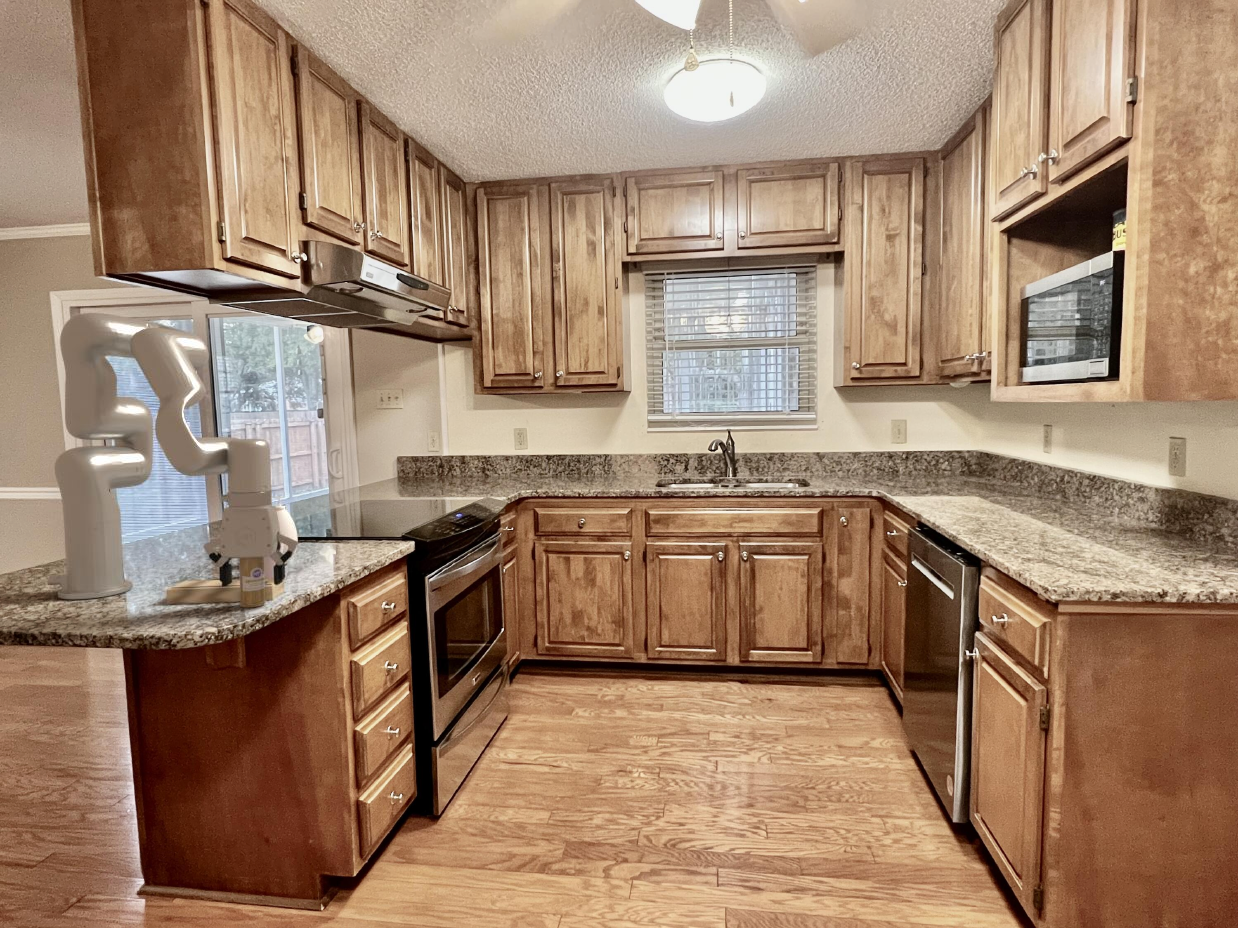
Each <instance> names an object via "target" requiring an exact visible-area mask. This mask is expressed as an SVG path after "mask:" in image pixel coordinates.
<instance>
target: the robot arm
mask: <svg viewBox="0 0 1238 928" xmlns="http://www.w3.org/2000/svg"><path fill="white" fill-rule="evenodd" d="M59 347H60V353H61V357H62V361H63V365H64V371H65V382H64V386H65V387H64V423H65V428H66V430H67V432H68V434H69V435H70V436H72V437H73V438H76V439H79V440H86V441H87V440H89V441H101V440H102V441H103V440H105V441H107V440H108V441H110V440H113V442H114V443H113V445H90V446H88V445H87V446H77V447H73V448H69V449H67V450H65V451H63V452H62V453H61V454H60V455H58V457H57V458H56V461H55V463H54V475H55V478H56V481H57V486H58V488H59V492H60V496H61V497H60V498H61V502H62V515H63V529H64V532H63V533H64V549H65V565H66V567H65V568H66V573H63V574H50V575H48V579H47V586H57V585H58V586H60V587H61V589H59V590H58V591H57V597H58V598H60V599H63V600H88V599H96V598H98V599H99V598H104V597H109V596H113V595H115V596H116V595H118V594H122V593H125V592H127V591H128V592H129V591H130V590H131V589H133V588H134V587H133V586H134V585H133V582H132V581H130V580H126V579H124V560H123V558H124V557H123V538H122V519H121V515H122V514H121V508H120V506H119V504H118V501H117V500H116V498H114V495H112V493H111V492H110V490H113V489H124V488H131V487H137V486H140V485H142V484H144V483H145V482H147V480H148V479H149V478H150V475H151V473H152V468H153V462H154V461H153V456H154V455H153V452H154V431H155V437H156V440H157V442H158V445H159V446H160V449H161V450H162V452H163V454H164V456H165V457H166V459H167V461H168V462H169V463H170V465H171V466H172V468H174V469H175V470H176V471H177V472H178V473H180V474H182V475H184V476H187V477H200V476H210V475H211V476H213V475H214V476H215V475H225V474H227V488H228V489H227V493H226V494H221V496H220V500H221V502H226V503H227V506H228V507H224V509H223V512H222V517H221V525H220V534H219V537H216V538H215V539H214V540H211V541H208V542H207V543H205V544H204V545H203V549H204V550H205V552H206V553H207V555H208V557H209V559H210V560H211V561H212V562H214V563H215V564H216V567H217V568H218V569H219V570H218V571H219V580H220V582H222V587H226V586H227V585H229V584H231V583H232V580H233V567H232V563H230V561H232V559H240V558H261V557H270V558H271V559H272V560H273V561H274V562H275V563H276V565H275V566H274V584H275V585H279V584H280V583H281V582H283V580H284V581H285V578H286V564H285V562H286V561H287V560H288V559H289V558H290V557H291V556H292V555H293V554H294V551H295V550H296V548H298V546H299V541H298V542H297V541H295V540H293V539H291V538H288V537H286V536H284V535H282V534H280V526H279V520H278V516H277V511H276V508H275V505H272V504H273V503H272V498H273V497H272V474H271V473H272V470H271V467H272V466H271V465H272V464H271V445H270V443H269V441H267V440H265V439H263V438H236V437H230V436H218V437H216V436H210V437H206V436H205V437H196V436H195V435H194V434H193V432H192V430H191V429H190V427H189V425H188V423H187V421H186V418H185V410H187V409H189V408H190V407H193V406H195V405H196V404H198V403H199V402H201V400H202V399H204V397H205V395H206V392H207V388H206V386H205V384H204V383H203V380H201V378H200V376H199V374H198V373H197V372H199V371H201V370H203V369H204V368H205V367H206V366H207V365H208V362H209V359H210V353H209V349H208V346H207V344H206V343H205V341H204V340H203V339H202V338H201V337H200V336H198V335H197V334H195V333H193V332H190V331H185V330H182V329H178V328H175V327H172V326H168V325H165V324H163V323H158V322H154V321H149V320H145V319H137V318H132V317H127V316H121V315H116V314H110V313H109V314H108V313H103V312H102V313H101V312H83V313H79V314H77V315H76V314H75V315H74V316H73V317H71V318H69V320H67V321H66V322H65V324H64V325H63V327H62V330H61V332H60V337H59ZM108 356H111V357H120V358H129V359H130V358H131V359H135V361H136V363H137V365H138V366H139V368H140V370H141V372H142V374H143V375H144V377H145V379H146V381H147V382H148V385H149V386H150V388H151V389H152V391H153V393H154V395H155V397H156V398H157V399H158V402H159V406H158V409H157V411H156V414H155V421H154V417H153V414H152V413H151V412H152V411H151V410H150V407H148V405H147V404H146V403H145V402H143V401H142V400H141V399H139V398H135V397H132V396H131V397H130V396H118V389H117V387H118V378H117V374H116V372H115V369H114V367H113V365H112V364H111V363H110V361H109V360H108V358H106V357H108ZM154 422H155V423H154ZM154 424H155V426H154ZM154 429H155V430H154ZM281 543H283V544H285V545H287V546H288V549H287V551H286V553H285V554H284V555H283V554H282V553H281V552H280V549H281ZM217 546H219V552H220V553H219V552H218V551H217V549H216V547H217ZM296 551H297V550H296Z"/></svg>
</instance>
